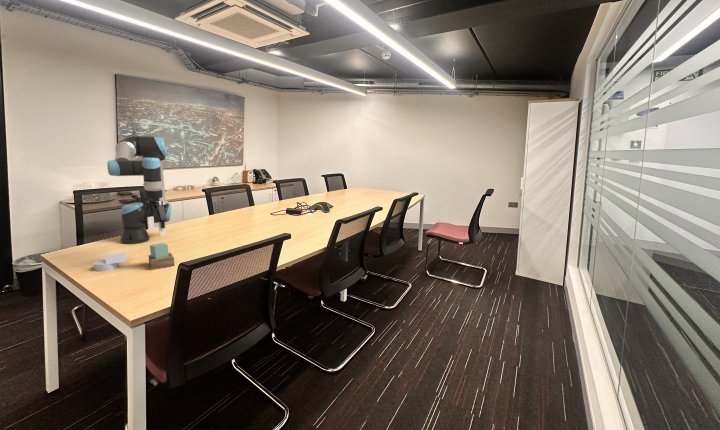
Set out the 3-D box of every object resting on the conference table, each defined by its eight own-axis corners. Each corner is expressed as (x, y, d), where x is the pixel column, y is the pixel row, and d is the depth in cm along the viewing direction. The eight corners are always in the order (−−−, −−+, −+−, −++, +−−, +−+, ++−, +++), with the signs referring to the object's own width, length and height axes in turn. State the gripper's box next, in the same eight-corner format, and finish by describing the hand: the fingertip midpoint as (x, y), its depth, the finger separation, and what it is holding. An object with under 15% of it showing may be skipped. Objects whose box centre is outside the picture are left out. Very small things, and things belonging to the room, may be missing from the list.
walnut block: (149, 264, 181) (148, 255, 180) (171, 261, 187) (170, 252, 186) (152, 270, 174) (151, 260, 173) (174, 266, 180) (173, 257, 179)
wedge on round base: (126, 262, 183) (95, 267, 175) (125, 250, 181) (93, 254, 174) (127, 267, 176) (95, 272, 168) (126, 254, 174) (93, 259, 167)
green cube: (151, 256, 179) (149, 245, 178) (163, 253, 184) (162, 242, 182) (156, 259, 175) (154, 247, 174) (168, 256, 180) (167, 245, 179)
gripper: (135, 187, 177) (139, 228, 182) (155, 193, 162) (159, 238, 167) (151, 186, 183) (154, 226, 188) (172, 192, 168) (175, 235, 172)
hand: (156, 231), depth 177 cm, fingers open, 13 cm apart
